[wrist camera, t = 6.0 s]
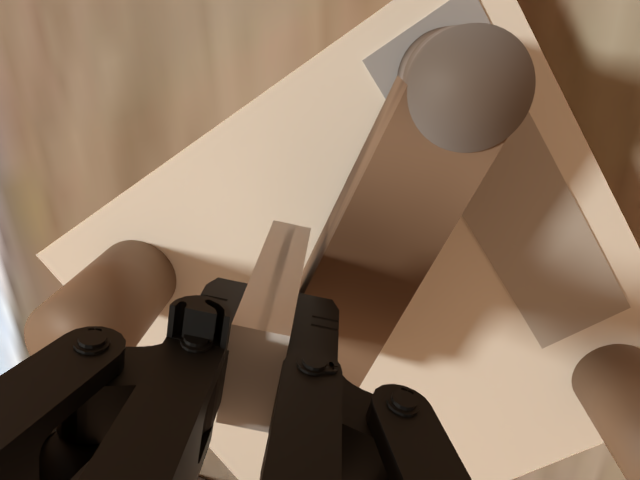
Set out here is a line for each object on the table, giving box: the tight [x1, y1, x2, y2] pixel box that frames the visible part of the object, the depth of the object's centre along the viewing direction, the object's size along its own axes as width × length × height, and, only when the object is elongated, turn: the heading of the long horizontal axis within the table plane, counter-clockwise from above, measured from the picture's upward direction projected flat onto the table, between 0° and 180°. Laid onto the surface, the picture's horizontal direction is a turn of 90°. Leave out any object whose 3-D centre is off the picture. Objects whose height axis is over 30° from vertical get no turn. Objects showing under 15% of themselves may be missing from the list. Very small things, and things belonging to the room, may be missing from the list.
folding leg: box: [299, 23, 536, 387], centre depth 17 cm, size 13×4×4 cm, turn 156°
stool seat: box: [24, 0, 640, 480], centre depth 20 cm, size 20×20×8 cm
